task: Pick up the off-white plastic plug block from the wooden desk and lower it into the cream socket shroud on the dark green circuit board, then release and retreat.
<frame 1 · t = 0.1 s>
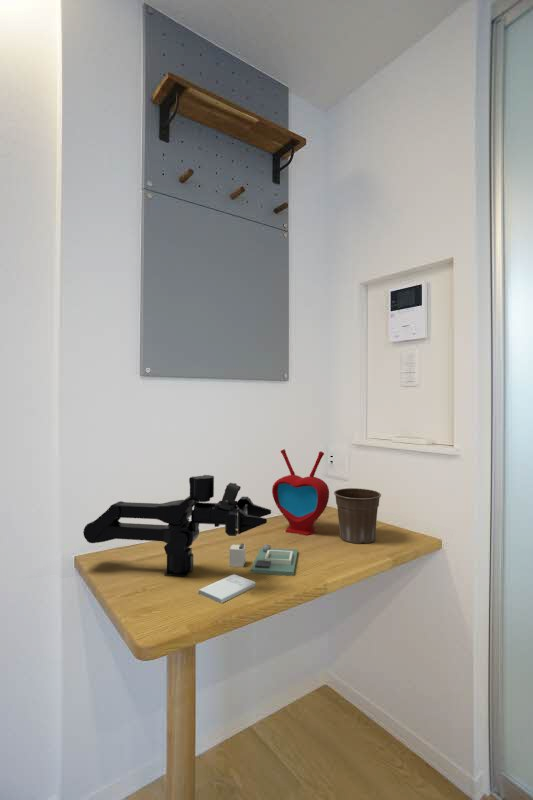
hand: (268, 516, 112), 17 cm above the table, tool horizontal, fingers open, 9 cm apart
plug: (237, 564, 121), on the table
plant pot: (357, 539, 145), on the table
novelty television: (301, 530, 155), on the table
board: (275, 562, 123), on the table
external hard drive: (227, 592, 104), on the table
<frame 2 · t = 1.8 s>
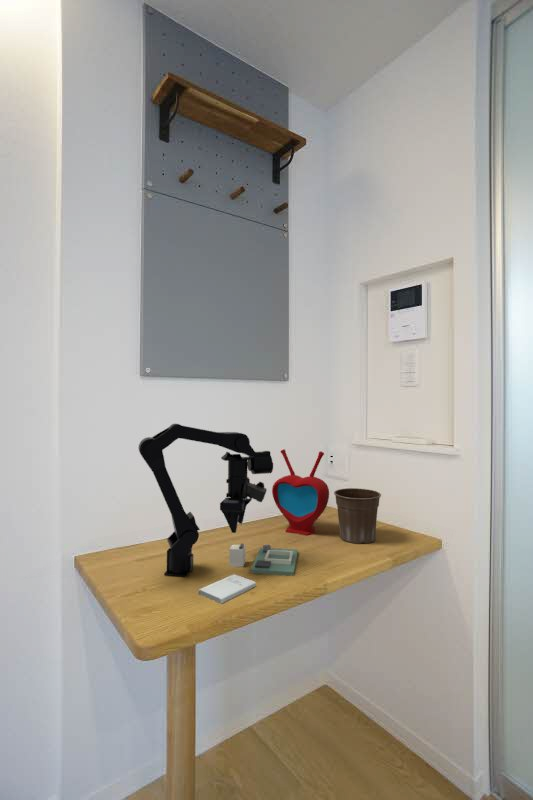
hand: (237, 527, 121), 11 cm above the table, tool pointing down, fingers open, 9 cm apart
nothing on the table moved.
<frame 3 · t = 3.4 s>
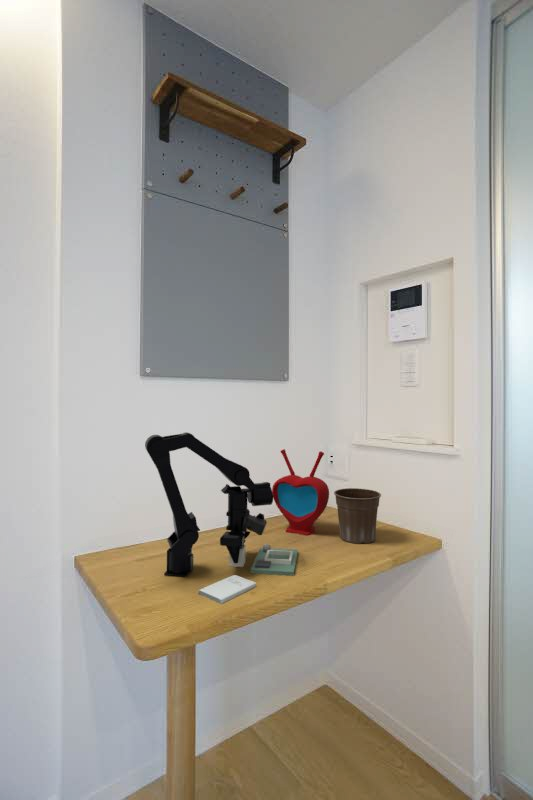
hand: (237, 560, 121), 1 cm above the table, tool pointing down, fingers closed on plug, 4 cm apart
plug: (237, 563, 121), on the table, touching gripper
everything else where it was.
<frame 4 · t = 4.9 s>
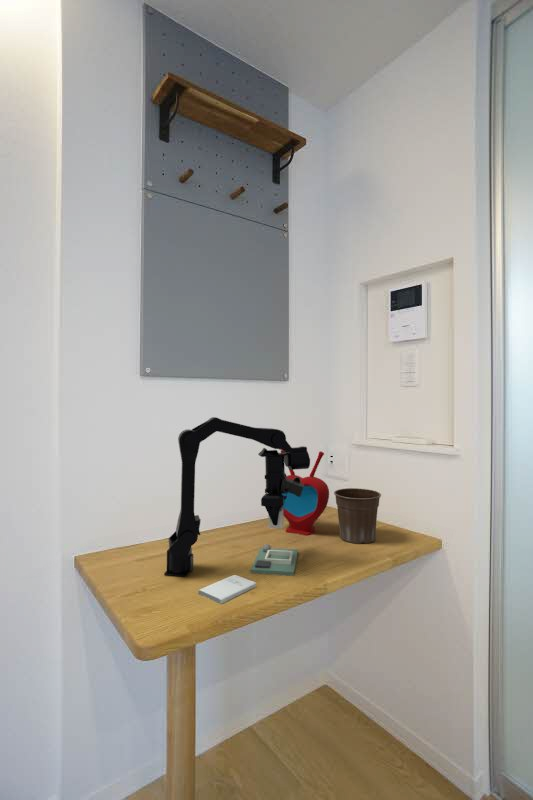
hand: (276, 523, 123), 12 cm above the table, tool pointing down, fingers closed on plug, 4 cm apart
plug: (276, 526, 123), point 11 cm above the table, touching gripper
everything else where it was.
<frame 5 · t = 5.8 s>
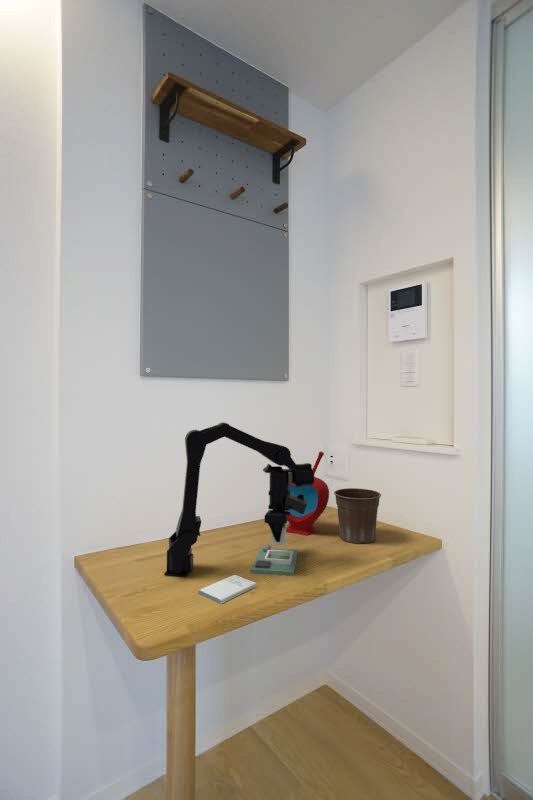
hand: (278, 539, 123), 7 cm above the table, tool pointing down, fingers closed on plug, 4 cm apart
plug: (278, 542, 123), point 6 cm above the table, touching gripper
everything else where it was.
when the fingers open (4 cm above the table, at t = 6.6 s): plug drops 2 cm, resting on board.
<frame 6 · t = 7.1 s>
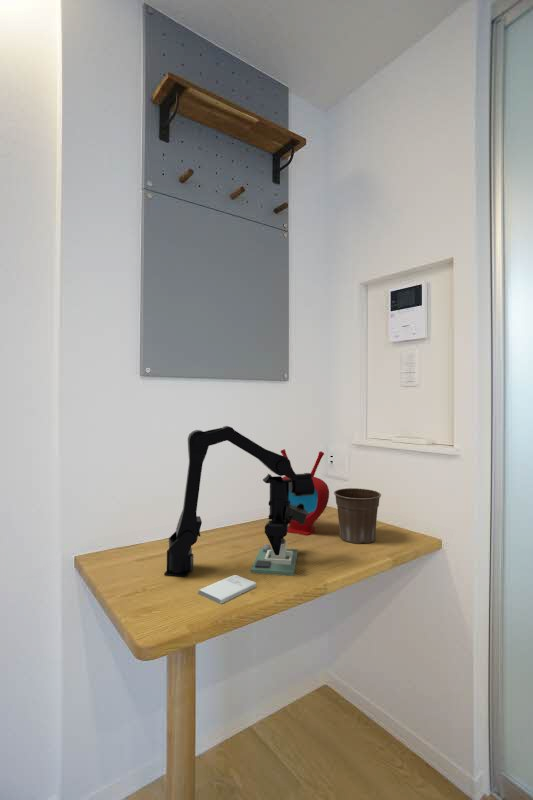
hand: (278, 549, 123), 4 cm above the table, tool pointing down, fingers open, 9 cm apart
plug: (278, 558, 123), point 1 cm above the table, touching board
everything else where it was.
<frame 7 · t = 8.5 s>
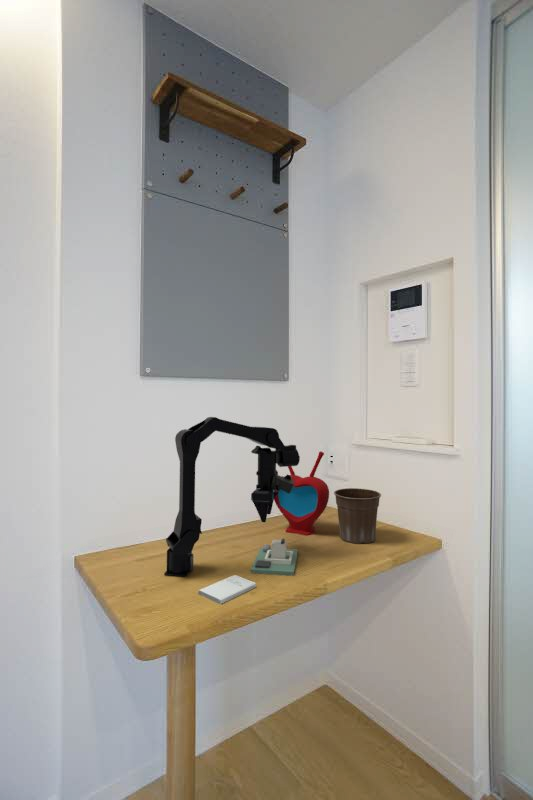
hand: (266, 518, 128), 12 cm above the table, tool pointing down, fingers open, 9 cm apart
nothing on the table moved.
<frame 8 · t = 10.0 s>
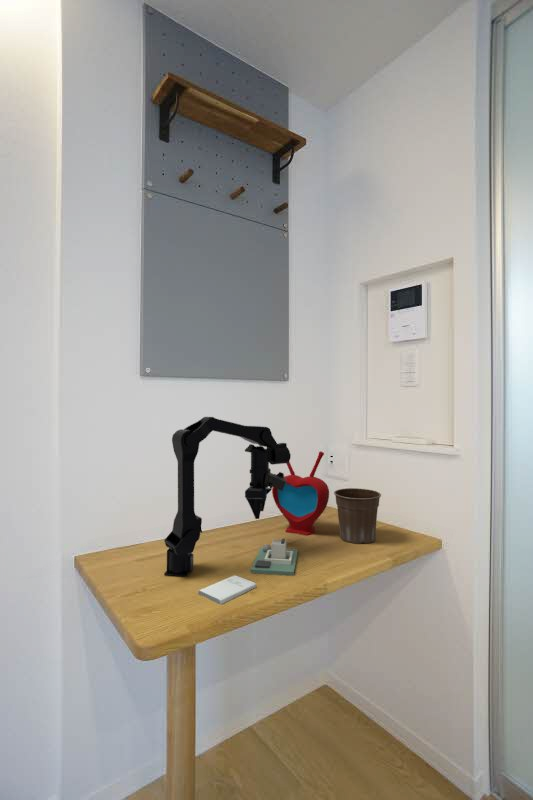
hand: (259, 514, 131), 12 cm above the table, tool pointing down, fingers open, 9 cm apart
nothing on the table moved.
at the end: plug 0.0 cm from the target spot, point 1.0 cm above the table; plug tilted 0°; the gripper is holding nothing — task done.
